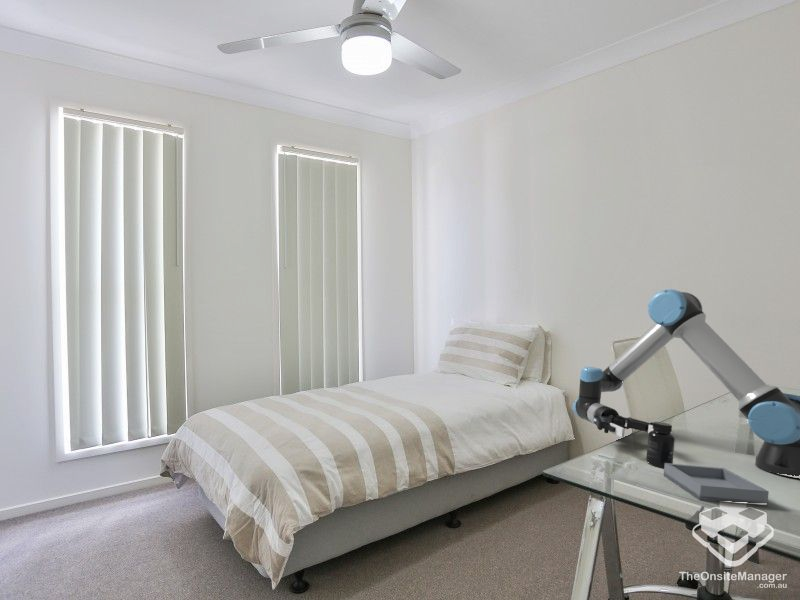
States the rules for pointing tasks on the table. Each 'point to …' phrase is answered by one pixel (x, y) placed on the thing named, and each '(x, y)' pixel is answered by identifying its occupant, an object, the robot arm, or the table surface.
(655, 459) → the supplement bottle
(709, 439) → the table surface
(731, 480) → the charcoal tray
